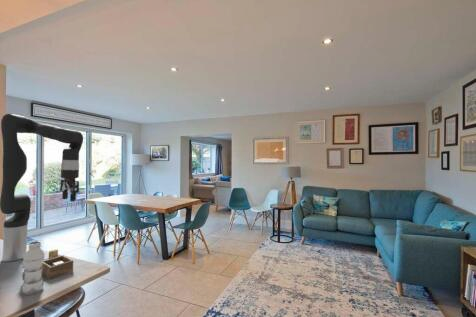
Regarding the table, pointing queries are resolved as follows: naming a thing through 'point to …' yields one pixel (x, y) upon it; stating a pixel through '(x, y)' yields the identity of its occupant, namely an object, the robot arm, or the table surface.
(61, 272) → the box
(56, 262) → the cube offwhite
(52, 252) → the lid
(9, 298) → the table surface
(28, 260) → the plastic bottle
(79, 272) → the table surface
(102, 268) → the table surface
